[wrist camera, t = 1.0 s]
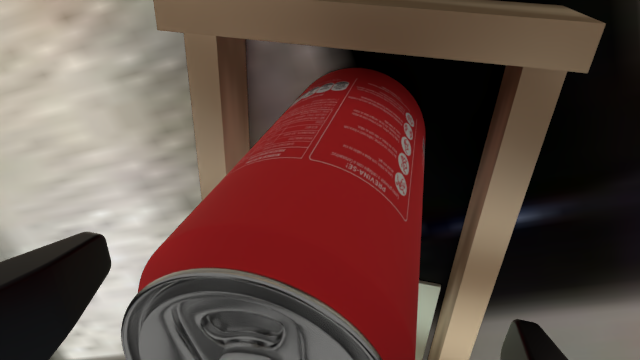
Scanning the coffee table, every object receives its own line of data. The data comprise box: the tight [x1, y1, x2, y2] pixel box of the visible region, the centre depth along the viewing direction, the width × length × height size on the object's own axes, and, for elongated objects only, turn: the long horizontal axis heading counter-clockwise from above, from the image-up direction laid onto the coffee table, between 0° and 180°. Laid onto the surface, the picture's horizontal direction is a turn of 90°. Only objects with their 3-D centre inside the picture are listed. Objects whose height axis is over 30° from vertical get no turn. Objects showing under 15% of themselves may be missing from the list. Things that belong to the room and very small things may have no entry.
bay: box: [153, 0, 606, 360], centre depth 18 cm, size 20×12×4 cm, turn 177°
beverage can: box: [121, 68, 425, 360], centre depth 12 cm, size 5×5×12 cm
